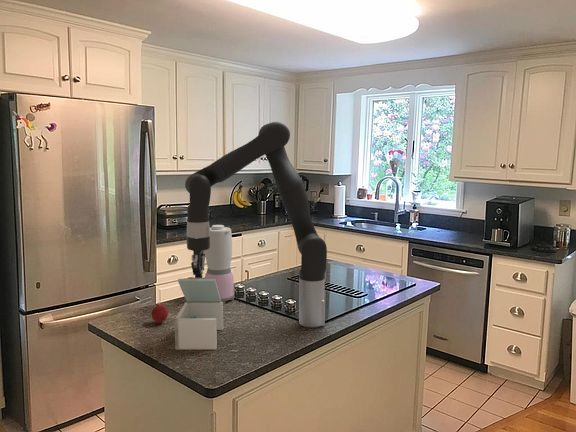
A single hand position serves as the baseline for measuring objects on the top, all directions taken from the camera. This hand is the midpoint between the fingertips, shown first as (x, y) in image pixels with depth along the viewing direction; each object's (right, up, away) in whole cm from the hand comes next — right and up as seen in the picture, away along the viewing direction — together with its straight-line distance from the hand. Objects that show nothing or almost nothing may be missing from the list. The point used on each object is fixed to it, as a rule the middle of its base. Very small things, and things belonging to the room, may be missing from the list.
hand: (198, 285), depth 159 cm
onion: (-17, -17, +16) cm, 29 cm away
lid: (0, -3, +2) cm, 3 cm away
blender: (-1, -12, +44) cm, 46 cm away
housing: (0, -18, +2) cm, 19 cm away
